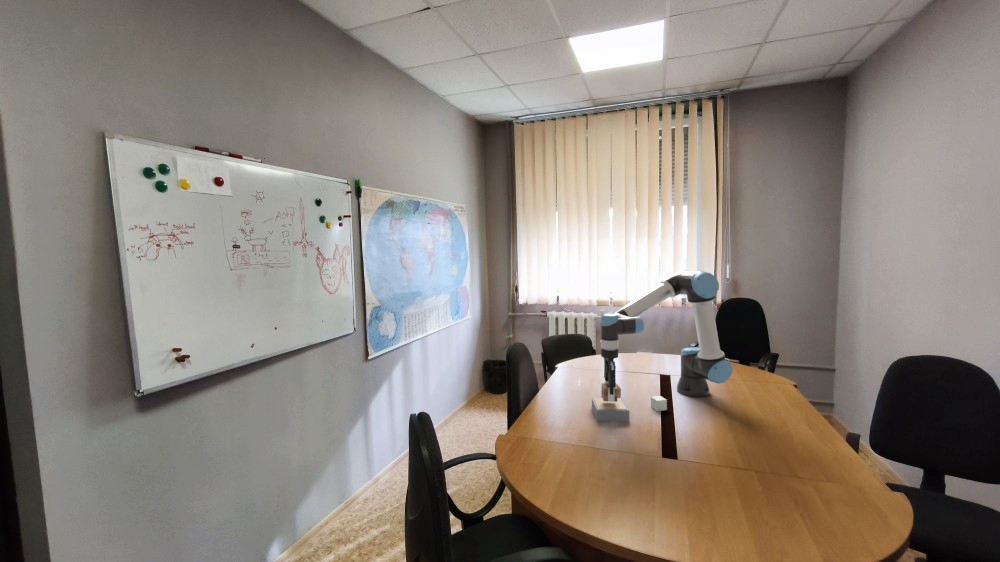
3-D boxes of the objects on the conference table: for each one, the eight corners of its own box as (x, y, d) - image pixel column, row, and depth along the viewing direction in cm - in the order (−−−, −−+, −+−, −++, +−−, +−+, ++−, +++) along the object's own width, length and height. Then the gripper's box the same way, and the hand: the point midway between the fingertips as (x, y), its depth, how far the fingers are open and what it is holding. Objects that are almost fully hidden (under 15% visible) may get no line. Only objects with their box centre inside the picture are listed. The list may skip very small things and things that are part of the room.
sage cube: (660, 405, 185) (660, 395, 185) (666, 410, 180) (666, 399, 180) (650, 407, 184) (650, 396, 184) (656, 411, 180) (657, 400, 179)
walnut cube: (614, 396, 180) (614, 383, 179) (617, 401, 174) (617, 388, 173) (601, 396, 180) (601, 383, 179) (603, 401, 174) (603, 388, 174)
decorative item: (620, 403, 199) (617, 383, 204) (624, 398, 191) (621, 378, 196) (601, 403, 200) (599, 384, 205) (604, 398, 191) (601, 378, 197)
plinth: (621, 408, 184) (621, 397, 183) (629, 421, 170) (629, 409, 169) (591, 408, 185) (591, 397, 184) (596, 421, 171) (596, 409, 171)
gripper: (597, 343, 184) (597, 390, 186) (605, 354, 166) (605, 406, 168) (613, 342, 184) (613, 390, 186) (623, 354, 165) (623, 406, 167)
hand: (609, 397), depth 177 cm, fingers closed on walnut cube, 6 cm apart
